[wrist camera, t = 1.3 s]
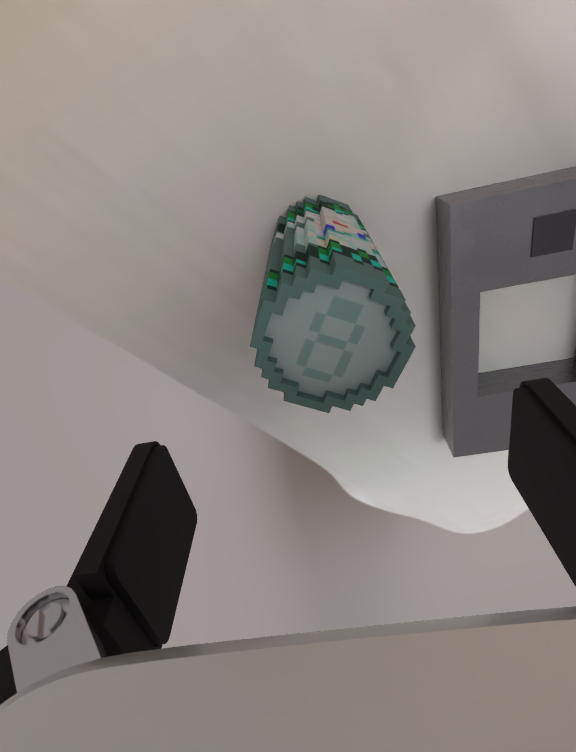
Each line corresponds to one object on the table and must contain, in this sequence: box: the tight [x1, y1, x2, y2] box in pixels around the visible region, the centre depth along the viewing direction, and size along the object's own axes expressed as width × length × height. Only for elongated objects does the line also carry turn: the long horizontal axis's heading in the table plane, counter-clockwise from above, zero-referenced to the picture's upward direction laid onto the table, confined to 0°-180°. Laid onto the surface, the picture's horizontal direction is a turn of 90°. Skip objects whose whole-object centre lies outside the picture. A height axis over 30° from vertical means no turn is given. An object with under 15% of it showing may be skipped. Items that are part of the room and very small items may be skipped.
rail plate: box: [436, 167, 576, 457], centre depth 31 cm, size 12×20×3 cm, turn 12°
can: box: [250, 195, 416, 413], centre depth 23 cm, size 6×6×15 cm
